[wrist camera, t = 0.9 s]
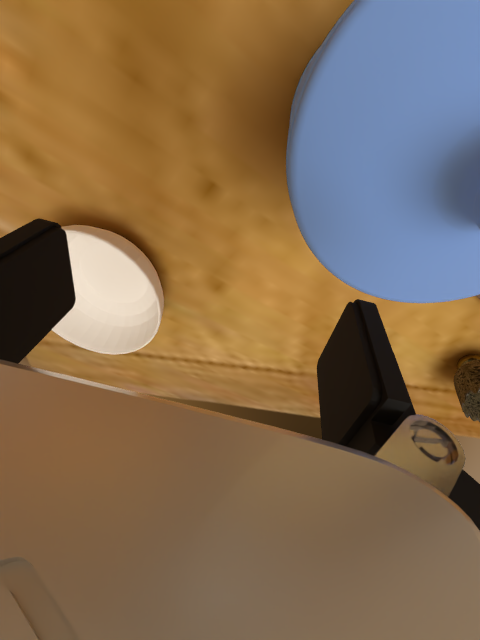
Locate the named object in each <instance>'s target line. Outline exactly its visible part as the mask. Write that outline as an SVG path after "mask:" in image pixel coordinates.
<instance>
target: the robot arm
mask: <svg viewBox="0 0 480 640" xmlns="http://www.w3.org/2000/svg"><path fill="white" fill-rule="evenodd" d="M75 301H76V297H75V290H74V283H73V276H72V269H71V263H70V256H69V249H68V242H67V235H66V232H65V230H63V229H62V228H61V226H60V225H59V224H58V223H55V222H51V221H47V220H43V219H35V220H33V221H32V222H30V223H28V224H26V225H24V226H22V227H20V228H18V229H17V230H15V231H13V232H11V233H9V234H7V235H5V236H4V237H2V238H0V640H480V484H479V483H478V482H476V481H475V480H474V479H473V478H472V477H471V476H470V475H468V474H467V473H466V472H465V471H464V470H463V467H464V464H465V454H464V450H463V448H462V446H461V445H460V443H459V441H458V440H457V439H456V437H455V436H454V435H453V434H452V433H451V432H450V431H449V430H448V429H447V428H446V427H445V426H443V425H442V424H440V423H439V422H437V421H436V420H434V419H431V418H429V417H427V416H422V415H416V413H415V410H414V408H413V405H412V402H411V399H410V397H409V394H408V391H407V388H406V386H405V383H404V380H403V377H402V375H401V372H400V369H399V366H398V364H397V361H396V358H395V355H394V353H393V351H392V348H391V345H390V342H389V340H388V337H387V334H386V331H385V329H384V326H383V323H382V320H381V318H380V315H379V312H378V309H377V306H376V305H375V304H374V303H371V302H367V301H363V300H359V299H357V300H355V301H354V303H352V302H349V303H348V304H347V306H346V308H345V310H344V311H343V313H342V315H341V317H340V319H339V321H338V323H337V325H336V327H335V329H334V331H333V333H332V335H331V337H330V339H329V340H328V342H327V344H326V346H325V348H324V350H323V352H322V354H321V356H320V358H319V360H318V364H317V377H318V390H319V403H320V416H321V428H322V440H321V439H318V438H314V437H310V436H306V435H302V434H299V433H295V432H292V431H288V430H284V429H281V428H277V427H273V426H269V425H265V424H261V423H257V422H253V421H249V420H245V419H241V418H237V417H233V416H229V415H225V414H221V413H217V412H213V411H209V410H205V409H201V408H197V407H193V406H189V405H185V404H181V403H177V402H173V401H169V400H165V399H161V398H157V397H153V396H149V395H145V394H141V393H137V392H133V391H129V390H124V389H120V388H116V387H112V386H108V385H104V384H100V383H96V382H92V381H88V380H84V379H80V378H75V377H71V376H67V375H63V374H59V373H55V372H50V371H46V370H42V369H38V368H34V367H30V366H25V365H21V364H18V363H19V362H20V361H21V360H22V359H23V358H24V357H25V356H26V355H27V354H28V353H29V352H30V351H31V350H32V349H33V348H34V347H35V346H36V345H37V344H38V343H39V342H40V341H41V340H42V339H43V338H44V337H45V336H46V335H47V334H48V333H49V332H50V331H51V330H52V329H53V328H54V326H55V325H56V324H57V323H58V322H59V321H60V320H61V319H62V318H63V317H64V316H65V315H66V314H67V313H68V312H69V311H70V310H71V309H72V308H73V306H74V304H75Z"/></svg>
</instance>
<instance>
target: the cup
mask: <svg viewBox="0 0 480 640" xmlns="http://www.w3.org/2000/svg"><path fill="white" fill-rule="evenodd" d="M454 385H455V390H456V393H457V396H458V399H459V401H460V404H461V407H462V410H463V412H464V413H465V416H466V417H467V418H468V417H469V416H470V418H471V419H472V420H473V421H476V420H478V421H479V422H480V356H479V355H467V356H464V357H463V358H461V359H460V360H459V361H458V363H457V371H456V373H455V376H454Z"/></svg>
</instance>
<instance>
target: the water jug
mask: <svg viewBox="0 0 480 640" xmlns="http://www.w3.org/2000/svg"><path fill="white" fill-rule="evenodd" d="M286 175H287V185H288V191H289V196H290V201H291V204H292V208H293V211H294V215H295V218H296V221H297V224H298V227H299V229H300V231H301V234H302V236H303V238H304V240H305V241H306V243H307V245H308V246H309V248H310V250H311V251H312V252H313V254H314V255H315V256H316V258H317V259H318V260H319V261H320V262H321V263H322V265H323V266H324V267H325V268H326V269H327V270H329V271H330V272H331V273H332V274H333V275H334V276H336V277H337V278H338V279H340V280H341V281H343V282H344V283H346V284H348V285H349V286H351V287H353V288H355V289H357V290H359V291H361V292H364V293H366V294H369V295H372V296H375V297H379V298H382V299H387V300H392V301H398V302H407V303H435V302H445V301H452V300H458V299H463V298H468V297H472V296H476V295H479V294H480V0H354V1H353V2H352V3H351V5H350V6H349V7H348V8H347V9H346V11H345V12H344V13H343V14H342V16H341V17H340V18H339V20H338V21H337V23H336V24H335V25H334V27H333V28H332V30H331V31H330V32H329V34H328V35H327V37H326V38H325V40H324V42H323V43H322V45H321V46H320V47H319V48H318V50H317V51H316V52H315V54H314V55H313V57H312V58H311V60H310V61H309V63H308V65H307V66H306V68H305V70H304V72H303V74H302V76H301V78H300V81H299V83H298V86H297V89H296V92H295V95H294V99H293V103H292V108H291V114H290V126H289V133H288V141H287V151H286Z"/></svg>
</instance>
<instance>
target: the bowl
mask: <svg viewBox="0 0 480 640" xmlns="http://www.w3.org/2000/svg"><path fill="white" fill-rule="evenodd" d="M61 228H62V229H63V230H65V232H66V235H67V242H68V249H69V256H70V263H71V269H72V276H73V283H74V290H75V297H76V301H75V304H74V306H73V308H72V309H71V310H70V311H69V312H68V313H67V314H66V315H65V316H64V317H63V318H62V319H61V320H60V321H59V322H58V323H57V324H56V325H55V326H54V328H53V329H52V331H54V332H55V333H57V334H58V335H59V336H61V337H62V338H64V339H66V340H67V341H69V342H71V343H73V344H75V345H77V346H80V347H82V348H85V349H87V350H91V351H95V352H99V353H105V354H125V353H129V352H134V351H136V350H138V349H140V348H142V347H144V346H145V345H146V344H148V343H149V342H150V341H151V340H152V339H153V337H154V336H155V335H156V333H157V331H158V328H159V325H160V322H161V318H162V314H163V307H164V296H163V290H162V287H161V284H160V280H159V277H158V275H157V272H156V270H155V268H154V267H153V265H152V263H151V262H150V260H149V259H148V258H147V257H146V256H145V254H144V253H143V252H142V251H141V250H140V249H139V248H137V247H136V246H135V245H134V244H133V243H131V242H130V241H128V240H127V239H125V238H124V237H122V236H120V235H118V234H116V233H113V232H111V231H108V230H104V229H100V228H95V227H91V226H85V225H70V226H63V227H61Z"/></svg>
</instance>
